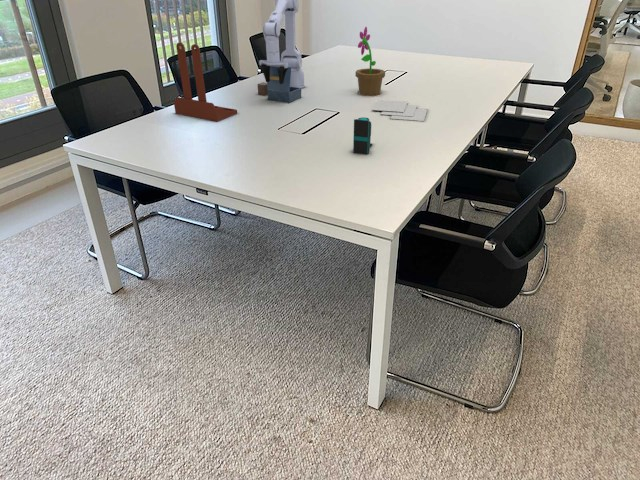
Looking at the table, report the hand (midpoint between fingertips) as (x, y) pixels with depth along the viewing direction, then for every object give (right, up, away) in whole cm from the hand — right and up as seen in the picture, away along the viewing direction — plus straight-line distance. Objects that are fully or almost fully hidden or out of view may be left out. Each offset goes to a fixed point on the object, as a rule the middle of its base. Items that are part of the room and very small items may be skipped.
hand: (274, 82), depth 227 cm
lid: (+2, +3, +2) cm, 4 cm away
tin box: (+4, -4, +10) cm, 12 cm away
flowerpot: (+45, 0, +17) cm, 48 cm away
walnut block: (-7, 0, +18) cm, 19 cm away
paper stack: (+56, -15, -9) cm, 59 cm away
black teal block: (+37, -40, -48) cm, 72 cm away
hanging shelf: (-29, -17, -9) cm, 35 cm away
